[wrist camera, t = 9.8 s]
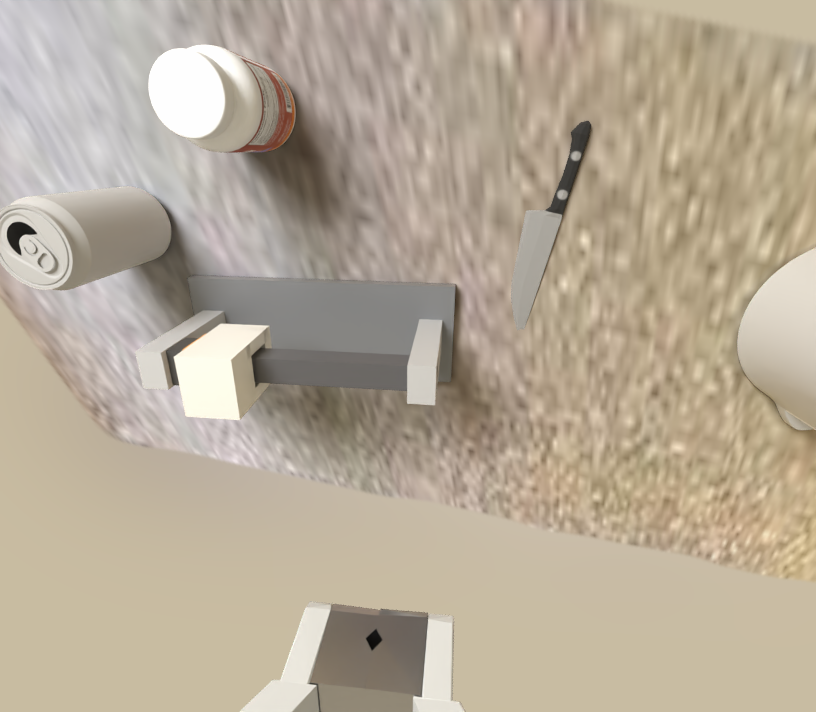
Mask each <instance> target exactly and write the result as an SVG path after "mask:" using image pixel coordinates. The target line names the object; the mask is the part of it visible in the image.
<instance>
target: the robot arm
mask: <svg viewBox="0 0 816 712" xmlns="http://www.w3.org/2000/svg"><path fill="white" fill-rule="evenodd" d="M737 349H738V356H739V360H740V364H741V366H742V369H743V371H744V373H745V374H746V376H747V377H748V379H749V380H750V381H751V382H752V383H753V384H754V385H755V386H756V387H757V388H758V389H759V390H761V391H762V392H763V393H765V394H766V395H767V396H769V397H770V398H771V399H772V400H773V401H774V402H775V404H776V406H777V409H778V411H779V413H780V415H781V417H782V419H783V420H784V422H785V423H787V424H788V425H790V426H791V427H793V428H795V429H797V430H813V429H814V430H816V248H814V249H812V250H810V251H808V252H806V253H804V254H802V255H800V256H798V257H797V258H795V259H793V260H792V261H790V262H789V263H787V264H786V265H784V266H783V267H782V268H781V269H779V270H778V271H777V272H776V273H774V274H773V275H772V276H771V277H770V278H769V279H768V280H767V281H766V282H765V283H764V284H763V285H762V287H761V288H760V289H759V290H758V292H757V293H756V294H755V296H754V297H753V299H752V300H751V302H750V303H749V305H748V307H747V309H746V311H745V313H744V315H743V318H742V321H741V324H740V328H739V332H738V340H737ZM453 642H454V618H453V616H449V615H437V614H429V615H428V613H423V612H412V611H399V610H389V609H381V610H376V609H369V608H362V607H354V606H346V605H338V604H330V603H321V602H312V601H310V602H309V604H308V605H307V607H306V608H305V611H304V614H303V617H302V619H301V622H300V625H299V628H298V631H297V634H296V637H295V639H294V642H293V645H292V648H291V651H290V654H289V657H288V660H287V662H286V665H285V668H284V671H283V674H282V677H281V679H280V680H272V681H271V682H270V683H269V684H268V685H267V686H266V687H265V688H264V689H263V690H262V691H261V692H260V693H258V694H257V696H255V697H254V698H253V699H252V700H251V701H250V702H249V703H248V704H247V705H246V706H245V707H244V708H243V709H242V710H241V711H239V712H465V710H464V708H463V706H462V704H461V702H458V701H452V698H453V697H452V696H453V648H454V643H453Z"/></svg>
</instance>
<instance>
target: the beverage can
mask: <svg viewBox="0 0 816 712" xmlns="http://www.w3.org/2000/svg"><path fill="white" fill-rule="evenodd" d="M170 240H171V225H170V221H169V218H168V215H167V213H166V211H165V210H164V208H163V207H162V205H161V204H160V203H159V202H158V200H157V199H155V198H154V197H153V196H152V195H151V194H149V193H148V192H146V191H144V190H142V189H139V188H136V187H130V186H123V187H114V188H105V189H95V190H86V191H76V192H67V193H57V194H48V195H38V196H29V197H24V198H20V199H18V200H16V201H14V202H13V203H12V204H10V206H6V207H4V208H2V209H1V210H0V263H1V264H2V265H3V267H4V268H5V269H6V270H7V271H8V272H9V273H10V274H11V275H12V276H13V277H14V278H15V279H17V280H18V281H20V282H21V283H23V284H25V285H27V286H29V287H32V288H35V289H40V290H50V289H53V290H69V289H72V288H75V287H78V286H81V285H84V284H87V283H89V282H92V281H95V280H98V279H101V278H104V277H106V276H109V275H112V274H115V273H118V272H121V271H123V270H126V269H129V268H132V267H135V266H138V265H140V264H143V263H146V262H149V261H152V260H154V259H157V258H158V257H160V256H161V255H162V254H164V252H165V251H166V250H167V248H168V246H169V244H170Z"/></svg>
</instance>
